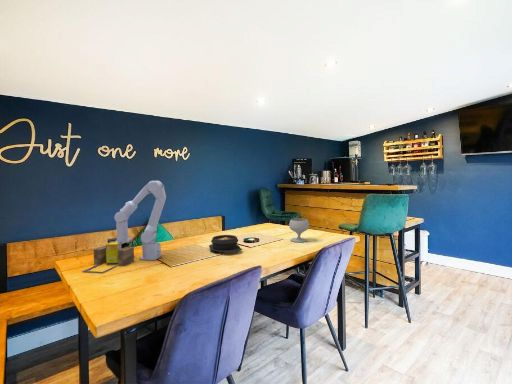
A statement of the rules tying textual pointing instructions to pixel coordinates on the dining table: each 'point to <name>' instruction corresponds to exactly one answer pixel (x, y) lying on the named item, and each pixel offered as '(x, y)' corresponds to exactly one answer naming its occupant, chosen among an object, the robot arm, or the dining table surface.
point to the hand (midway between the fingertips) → (123, 256)
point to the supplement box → (112, 252)
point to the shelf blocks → (123, 255)
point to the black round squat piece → (225, 244)
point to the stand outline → (97, 271)
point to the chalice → (299, 228)
